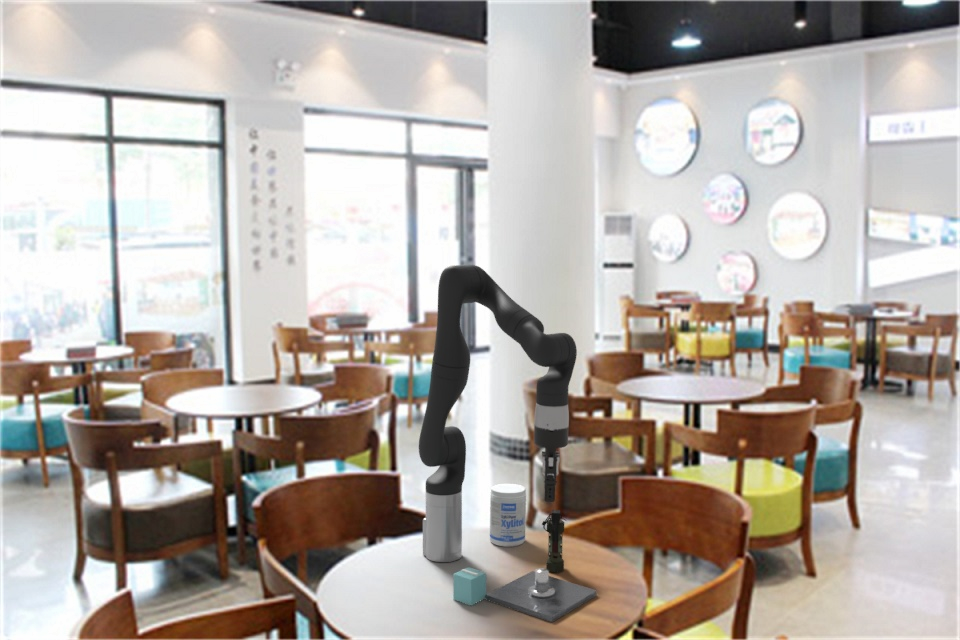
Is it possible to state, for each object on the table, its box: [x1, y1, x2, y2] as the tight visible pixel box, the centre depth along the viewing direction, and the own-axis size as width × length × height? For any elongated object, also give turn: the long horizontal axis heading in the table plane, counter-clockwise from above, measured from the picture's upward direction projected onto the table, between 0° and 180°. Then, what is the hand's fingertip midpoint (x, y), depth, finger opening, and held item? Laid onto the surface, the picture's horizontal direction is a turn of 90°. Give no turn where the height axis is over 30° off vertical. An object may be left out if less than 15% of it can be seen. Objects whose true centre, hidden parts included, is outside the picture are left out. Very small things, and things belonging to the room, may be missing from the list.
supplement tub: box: [489, 483, 527, 548], centre depth 232 cm, size 10×10×15 cm
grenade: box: [541, 509, 567, 573], centre depth 212 cm, size 6×6×15 cm
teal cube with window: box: [452, 566, 487, 606], centre depth 195 cm, size 5×5×6 cm
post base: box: [485, 567, 598, 623], centre depth 196 cm, size 18×18×6 cm
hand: (549, 495), depth 193 cm, fingers open, 8 cm apart
